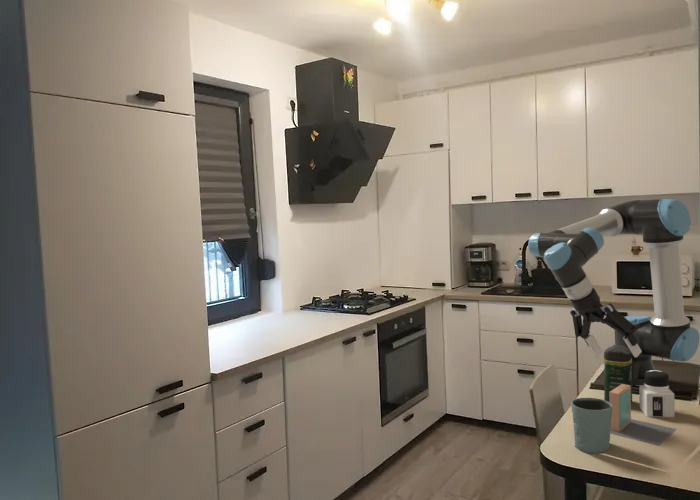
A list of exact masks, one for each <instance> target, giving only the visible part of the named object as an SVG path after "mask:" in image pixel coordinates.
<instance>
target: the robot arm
mask: <svg viewBox="0 0 700 500" xmlns="http://www.w3.org/2000/svg"><path fill="white" fill-rule="evenodd" d="M690 226H691V214H690V211H689V209H688V207H687V205H686V204H684V202H683V201H681V200H679V199H674V198H673V199H671V198H657V199H654V198H652V199H634V200H629V201H625V202H622V203H618V204H616V205H613V206H610V207H607V208H605V209H602V210H601V211H600V212H599V213H598V214H597V215H594V216H592V217H589V218H586V219H583V220H581V221H580V220H579V221H577V222H574V223H571V224H569V225H566V226H564V227H561V228H558V229H555V230H552V231H548V232H535V233H533V234H532V235H531V236H529V240H528V243H527V244H528V251H529V253H530V254H531V255H532V256H533V257H539V258H543V259H544V261H545V262H546V264H547V266H548V269H549V270H550V271H551V273H552V275H553V276H554V278H555V279H556V281H557V282H558V284H559V285H560V287H561V289H562V291H564V294H565V296H566V297H567V299H569V302H570V304H571V305H572V307H573V308H572V309H571V310H570V311H569V313H570V315H571V317H572V321H573V327H574V328H573V329H574V334H575V337H577V338H579V337H580V338H582V339H583V341H584V342H585V343H586V345H587V346H588V347H589V348H590V349H591V351H592V353H593V355H594V356H595V358H599V356H600V355H601V354H602V353H604V352H603V349H602V348H601V346H600V344H599V343H598V341H597V339H596V337H595V336H594V335H593V333H591V331H590V330H591V325H592V323H595V322H596V323H601V324H605V325H606V326H608V327H610V328H611V329H613V331H614V345H621V346H627V347H628V348H629V349H630V351H631V352H632V385H644V373H645V372H647V371H650V370H656V369H655V366H654V363H653V360H652V359H653V358H652V357H654V358H655V357H656V358H661V359H665V360H670V361H673V362H675V361H676V362H681V363H683V362H688V361H690V360H691V359H692V358H693V357H694V356H695V355H696V352H697V350H698V348H699V346H700V345H699V344H700V333H699V330H698V329H697V328H695V327H693V326H691V321H690V318H688V316H686V315H685V309H684V297H683V286H682V285H683V283H682V272H681V260H680V257H681V256H680V243H682V242H683V241H684V236H685V235H687V234H688V233H689V231H690V228H691V227H690ZM620 235H638V236H639V235H640V236H642V242H643V244H645V245H646V246H648V254H649V263H650V264H649V265H650V276H651V287H652V298H653V299H652V300H653V311H654V315H653V317H651V316H649V315H642V314H641V315H627V316H624V315H622V314H621V312H619V311H618V310H617V309H616V308H615V306H614V305H613V304H612V303H611V302H610V303H609V302H608V304H607V305H603V304H602V303H601V297H600V296H599V294H598V292H597V291H596V289H595V288H594V286H593V283H592V281H590V279H589V277H588V275H587V273H586V272H585V270H584V269H583V266H585V265H586V264H587V262H589V260H591V259H592V258H594V257H595V255H597V254H598V253H599V251H600V250H601V249H602V248H603V247H604V244H605V237H607V236H608V237H616V236H620Z"/></svg>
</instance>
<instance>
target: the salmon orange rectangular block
mask: <svg viewBox="0 0 700 500" xmlns="http://www.w3.org/2000/svg"><path fill="white" fill-rule="evenodd" d="M609 401H610V403H611V404H612V406H613V407H612V417H611V428H610V430H613V431H617V432H619V431H620V430H622V429H623V428H624V427H626V426H627V425H628V424H629V423H631V419H632V403H631V385H625V384H621V385H620V386H618V387H616V388H615V389H613V390H612V391H610V392H609Z"/></svg>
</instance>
